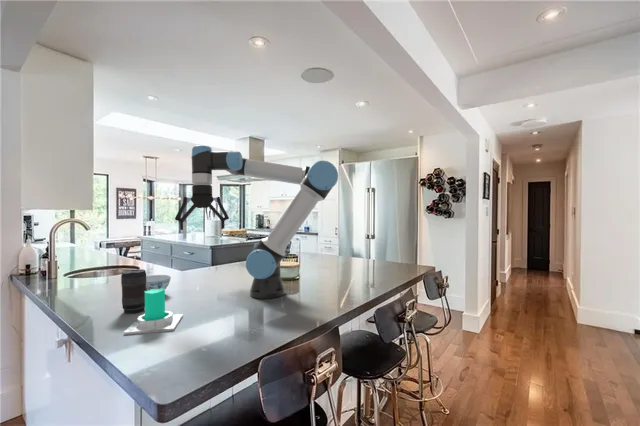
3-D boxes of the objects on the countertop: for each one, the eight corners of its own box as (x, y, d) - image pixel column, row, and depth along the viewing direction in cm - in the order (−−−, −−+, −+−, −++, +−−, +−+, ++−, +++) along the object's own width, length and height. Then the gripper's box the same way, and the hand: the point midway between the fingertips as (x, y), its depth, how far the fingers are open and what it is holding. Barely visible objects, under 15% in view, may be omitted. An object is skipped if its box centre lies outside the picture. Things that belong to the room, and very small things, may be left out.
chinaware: (148, 290, 149) (148, 274, 149) (177, 291, 147) (177, 275, 147) (124, 299, 134) (124, 281, 134) (156, 300, 132) (156, 282, 132)
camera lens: (123, 309, 120) (123, 270, 120) (147, 306, 123) (147, 268, 123) (119, 315, 113) (119, 273, 113) (145, 312, 116) (145, 272, 116)
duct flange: (182, 316, 112) (182, 307, 112) (173, 330, 98) (173, 321, 98) (139, 319, 108) (139, 310, 108) (123, 334, 95) (123, 324, 95)
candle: (169, 320, 105) (169, 284, 105) (155, 326, 99) (155, 288, 99) (154, 318, 107) (154, 283, 107) (140, 324, 101) (139, 287, 101)
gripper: (234, 186, 134) (235, 236, 134) (170, 185, 128) (171, 238, 128) (234, 184, 126) (234, 237, 126) (166, 183, 120) (167, 239, 120)
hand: (202, 237), depth 127 cm, fingers open, 13 cm apart
